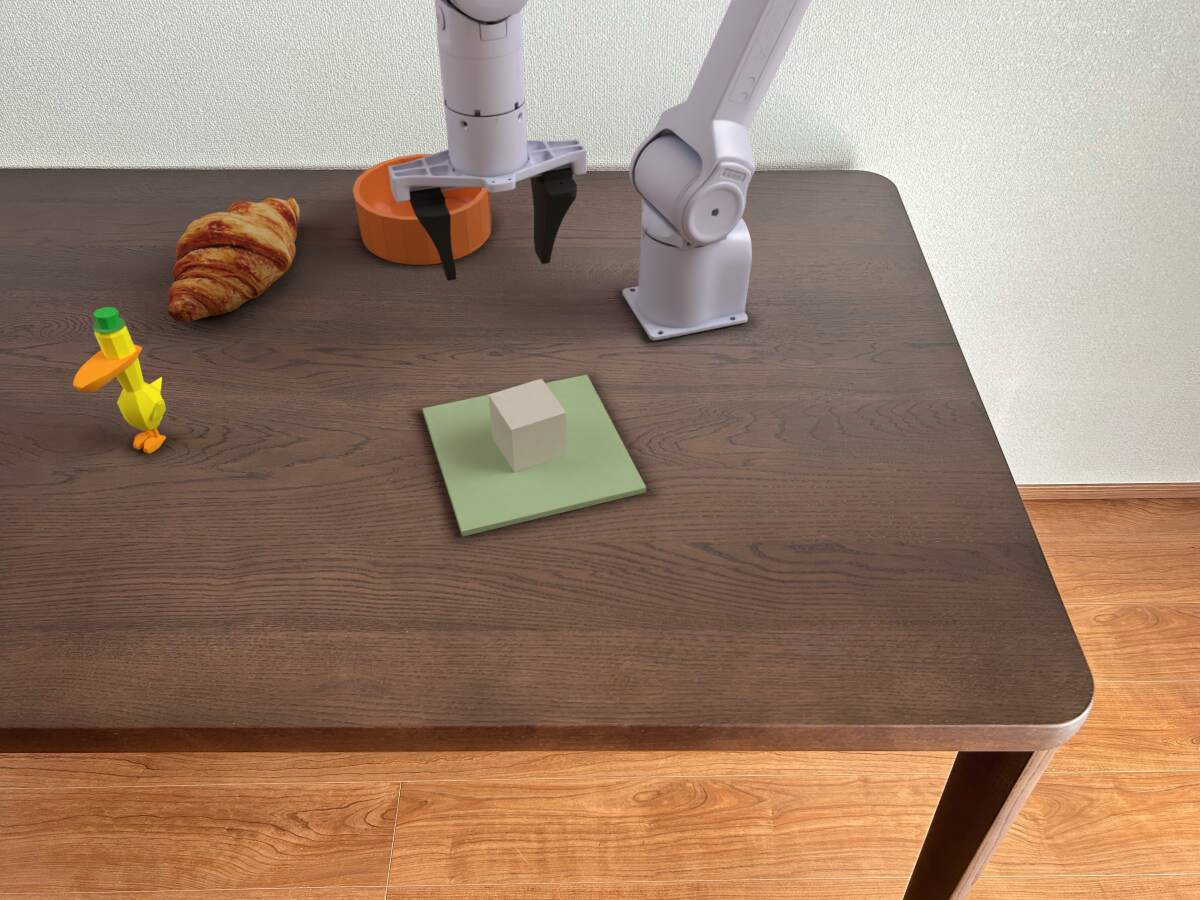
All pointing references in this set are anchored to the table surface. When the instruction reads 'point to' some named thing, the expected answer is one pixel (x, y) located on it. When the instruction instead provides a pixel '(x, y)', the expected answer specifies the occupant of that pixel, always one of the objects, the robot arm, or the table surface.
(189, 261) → the croissant
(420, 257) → the bowl
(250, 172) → the table surface
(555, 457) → the block
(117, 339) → the toy figure
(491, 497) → the mat
